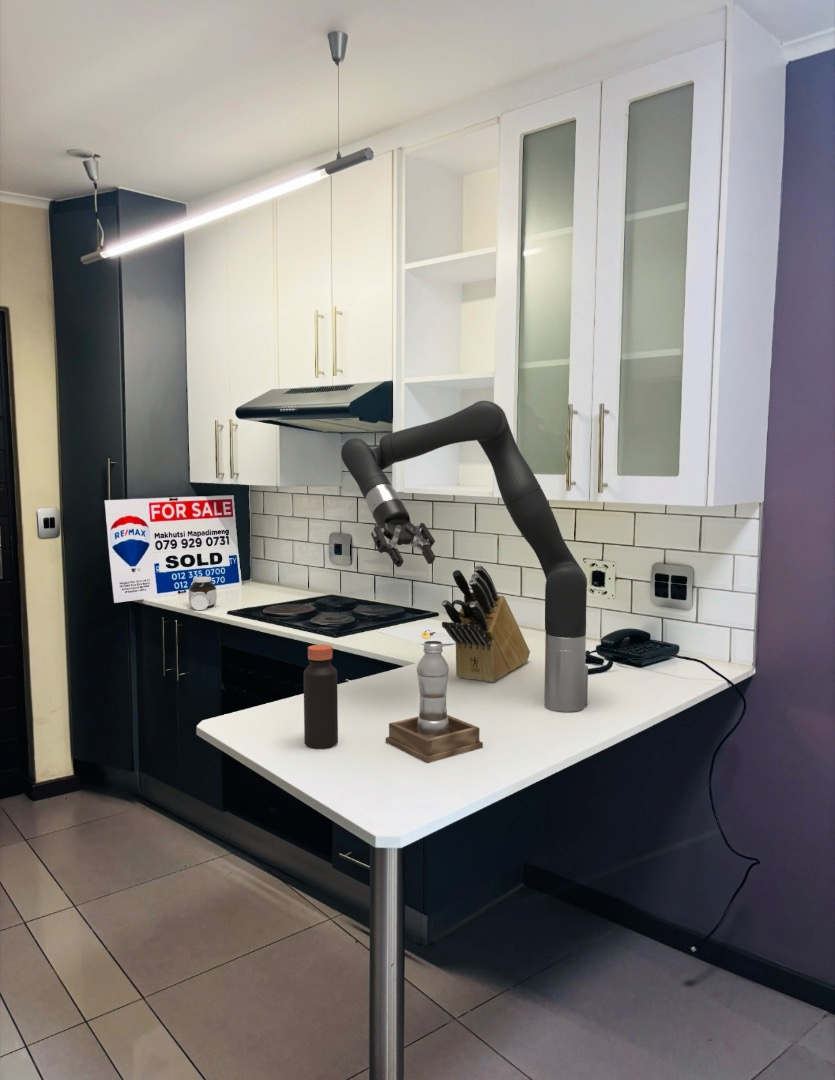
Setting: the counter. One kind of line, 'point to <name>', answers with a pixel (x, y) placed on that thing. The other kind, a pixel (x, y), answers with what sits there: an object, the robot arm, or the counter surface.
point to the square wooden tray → (434, 739)
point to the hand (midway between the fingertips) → (416, 563)
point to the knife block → (484, 630)
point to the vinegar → (320, 699)
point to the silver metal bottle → (432, 691)
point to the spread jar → (202, 593)
